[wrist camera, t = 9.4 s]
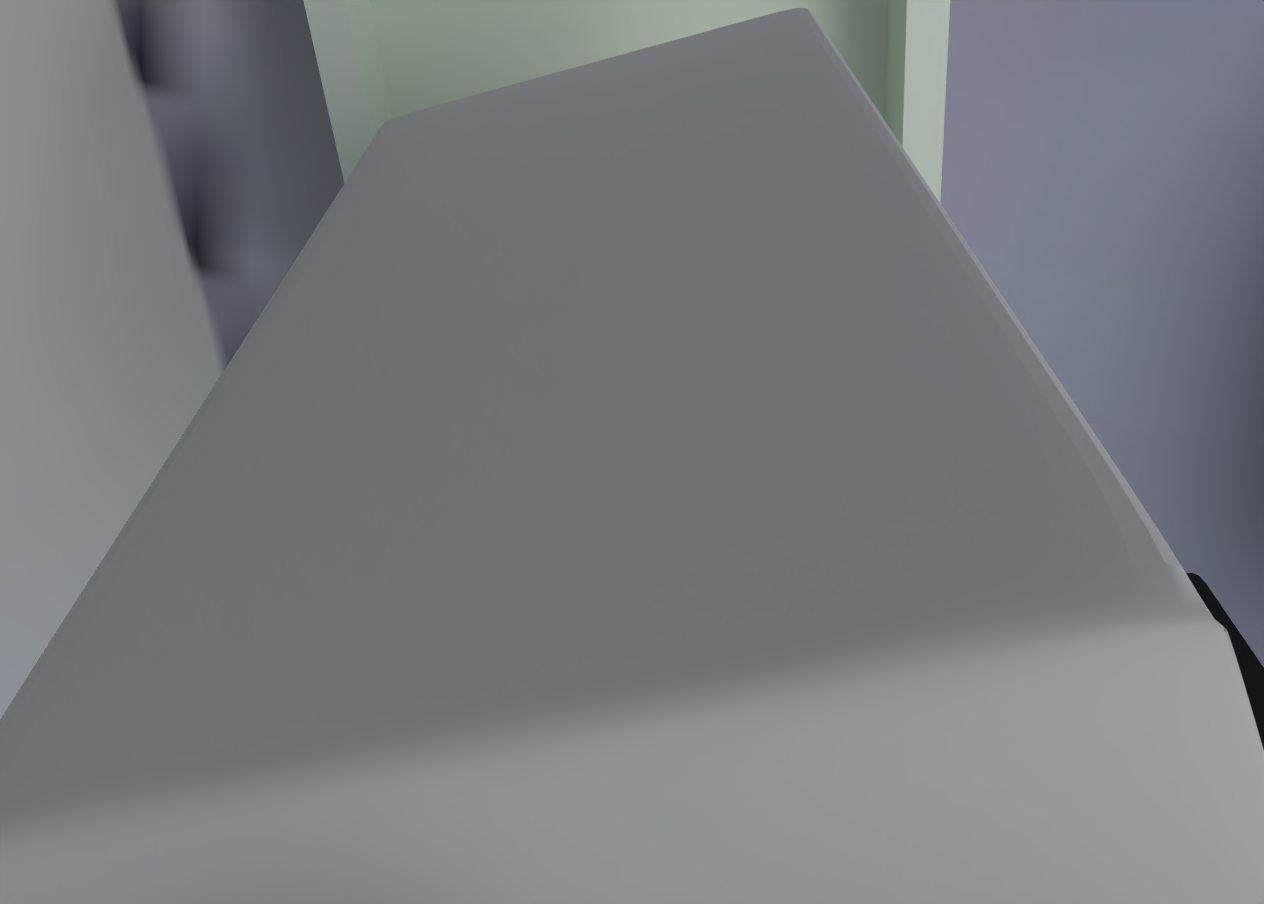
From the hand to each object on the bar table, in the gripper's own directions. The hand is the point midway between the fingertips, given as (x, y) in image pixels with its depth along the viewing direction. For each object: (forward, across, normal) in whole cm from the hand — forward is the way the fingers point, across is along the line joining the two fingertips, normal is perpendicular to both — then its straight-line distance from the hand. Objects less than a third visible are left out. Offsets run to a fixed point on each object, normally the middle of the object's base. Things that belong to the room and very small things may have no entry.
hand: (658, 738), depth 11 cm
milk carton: (+12, 0, 0) cm, 12 cm away
